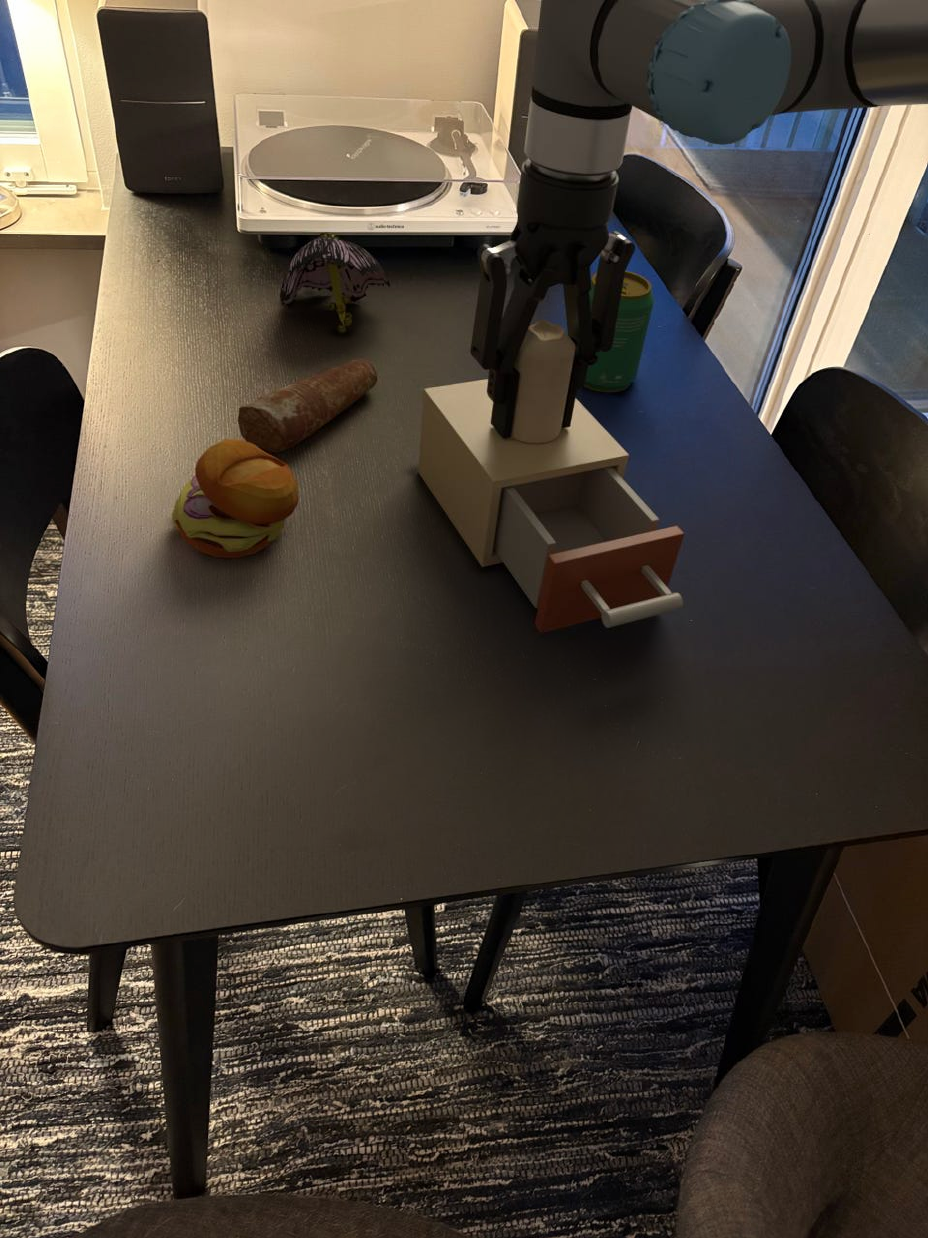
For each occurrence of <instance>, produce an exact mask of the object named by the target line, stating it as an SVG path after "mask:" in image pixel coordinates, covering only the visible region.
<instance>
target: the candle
mask: <svg viewBox="0 0 928 1238" xmlns="http://www.w3.org/2000/svg"><path fill="white" fill-rule="evenodd" d="M574 353H575V344H574V342H573V341H572V340H571V338H570V337H569V336H568V332H566V330H565V329H564V328H563V327H562V326H561V325H560V324H552V323H551V322H549V321H547V320H546V319H541V320H539V321H537V322H536V323H534V324H530V326H529V328H528V331H527V333H526V336H525V338H524V341H523V343H522V346H521V348H520V350H519V353H518V355H517V358H516V360H515V363H514V365H513V367H514V368H515V369H516V370H517V371H518V372H519V373H520V375H519V382H518V389H517V396H516V403H515V410H514V417H513V424H512V431H511V437H512V438H514V439H516V440H519V441H522V442H526V443H546V442H549V441H552V440H554V439H555V438H557V437H558V435H559V433H560V430H561V426H562V421H563V415H564V410H565V404H566V398H567V393H568V387H569V382H570V376H571V370H572V365H573V359H574Z"/></svg>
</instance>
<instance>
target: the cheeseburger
mask: <svg viewBox="0 0 928 1238" xmlns="http://www.w3.org/2000/svg"><path fill="white" fill-rule="evenodd" d="M194 471H195V475H194V476H193V477H192V478H191V479H190V480H189V481H188V482H187V483H186V484H185V485H184V486H183V488H182V489H181V491H180V493H179V496H178V497H177V498H176V500H175V502H174V503H175V504H174V507H173V509H172V513H171V517H172V518H171V519H172V523H173V524H174V526H175V528H176V530H177V531H178V532H179V535H180V536H181V537H182V539H183V540H184V542H186V543H187V544H189V545H190V546H191V547H193V548H194V549H196V550H197V551H200V552H202V553H204V554H207V555H210V556H211V557H215V558H225V559H226V558H227V559H239V558H243V557H246V556H249V555H253V554H256V553H258V552H259V551H262V549H265V548H266V547H267V546H269V545H270V544H271V542H272V541H274V540H276V538H278V536H279V534H281V532H282V530H283V529H284V526H285V521H286V519H287V518H289V517H290V516H291V515H293V513H294V511H295V510H296V508H297V507H298V504H299V487H298V482H297V479H296V477H295V476H294V474H293V471H292V469H291V468H290V466H289V465H288V464H287V463H285V462H283V460H281V459H279V458H278V457H276V456H273V455H272V454H269V453H268V452H267V451H264V449H262V448H261V447H259V446H257V445H254V444H252V443H250V442H247V441H246V440H243V439H237V438H225V439H223V440H221V441H219V442H217V443H214V444H212V445H211V446H210V447H208V448H207V449H206V450H205V451H204V452H203V453H202V454H201V455H200V457H199V458H198V459H197V461H196V464H195V469H194Z"/></svg>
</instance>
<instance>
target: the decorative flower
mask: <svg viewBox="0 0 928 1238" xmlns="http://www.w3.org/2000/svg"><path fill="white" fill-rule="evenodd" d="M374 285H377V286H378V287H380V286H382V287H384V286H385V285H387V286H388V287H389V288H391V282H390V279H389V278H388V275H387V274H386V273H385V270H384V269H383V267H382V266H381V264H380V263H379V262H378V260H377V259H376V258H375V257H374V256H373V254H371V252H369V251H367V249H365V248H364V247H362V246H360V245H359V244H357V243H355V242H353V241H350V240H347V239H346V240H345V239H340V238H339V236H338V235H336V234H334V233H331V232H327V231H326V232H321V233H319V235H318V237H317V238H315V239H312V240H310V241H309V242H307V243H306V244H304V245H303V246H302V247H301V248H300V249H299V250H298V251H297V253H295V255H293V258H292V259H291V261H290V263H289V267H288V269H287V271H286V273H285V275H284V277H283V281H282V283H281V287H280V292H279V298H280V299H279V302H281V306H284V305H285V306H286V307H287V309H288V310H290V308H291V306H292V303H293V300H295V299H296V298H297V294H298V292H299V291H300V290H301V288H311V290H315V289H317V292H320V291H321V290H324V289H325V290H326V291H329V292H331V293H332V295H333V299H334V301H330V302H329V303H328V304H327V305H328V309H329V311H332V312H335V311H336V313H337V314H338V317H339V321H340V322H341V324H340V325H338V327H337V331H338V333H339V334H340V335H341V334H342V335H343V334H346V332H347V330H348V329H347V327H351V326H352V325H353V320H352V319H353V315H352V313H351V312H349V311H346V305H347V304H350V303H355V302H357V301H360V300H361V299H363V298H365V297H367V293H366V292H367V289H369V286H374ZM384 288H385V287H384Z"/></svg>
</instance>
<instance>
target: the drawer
mask: <svg viewBox="0 0 928 1238" xmlns="http://www.w3.org/2000/svg"><path fill="white" fill-rule="evenodd" d="M659 522H660V518H659V517H658V516H657V515H656V514H655V513H654V512H653V510H652V509H651V508H650V507H649V506H648V505H647V504H646V503H645V502H644V501H643V499H642V498H641V497H640V496H639V495H638V494H637V493H636V492H635V491H634V489H632V488H631V486H630V485H629V484H628V483H627V482H626V481H625V480H624V478H623V479H622V478H621V476H620V475H619V474H618V473H617V472H616V471H615V470H614V469H613V468H612V466H610V467H605V468H600V469H594V470H589V471H584V472H579V473H574V474H569V475H564V476H559V477H554V478H549V479H544V480H539V481H534V482H529V483H523V484H518V485H513V486H508V487H503V488H501V495H500V502H499V509H498V516H497V523H496V530H495V537H494V544H493V548H494V550H495V551H496V552H497V554H498V555H499V557H500V558H501V560H502V561H503V562H502V563H503V564H504V566H505V567H506V568H507V570H508V571H509V573H510V574H511V576H512V577H513V578H514V580H515V581H516V582H517V584H518V586H519V587H520V588H521V590H522V591H523V593H524V594H525V596H526V597H527V598H528V600H529V601H530V603H531V604H532V605H533V607H534V608H535V609H536V610H537V612H536V615H535V616H536V617H535V621H534V625H535V627H536V628H537V630H538V631H539V633H540V634H543V633H544V634H545V633H548V632H551V631H555V630H559V629H563V628H566V627H570V626H574V625H578V624H582V623H585V622H589V621H593V620H597V619H601V621H602V624H603V625H604V627H605V628H606V629H607V628H608V629H610V628H614V627H617V626H621V625H625V624H628V623H633V622H637V621H641V620H644V619H648V618H651V617H655V616H658V615H663V614H666V613H670V612H673V611H677V610H681V609H682V608H683V604H684V600H683V597H682V596H681V593H679V592H672V591H671V590H670V588H668V587H669V584H670V581H671V578H672V575H673V572H674V569H675V565H676V562H677V559H678V556H679V553H680V549H681V547H682V543H683V540H684V536H685V532H684V531H683V530H682V529H681V528H680V527H679V526H678V525H674V526H669V527H665V528H661V529H658V526H659Z"/></svg>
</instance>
